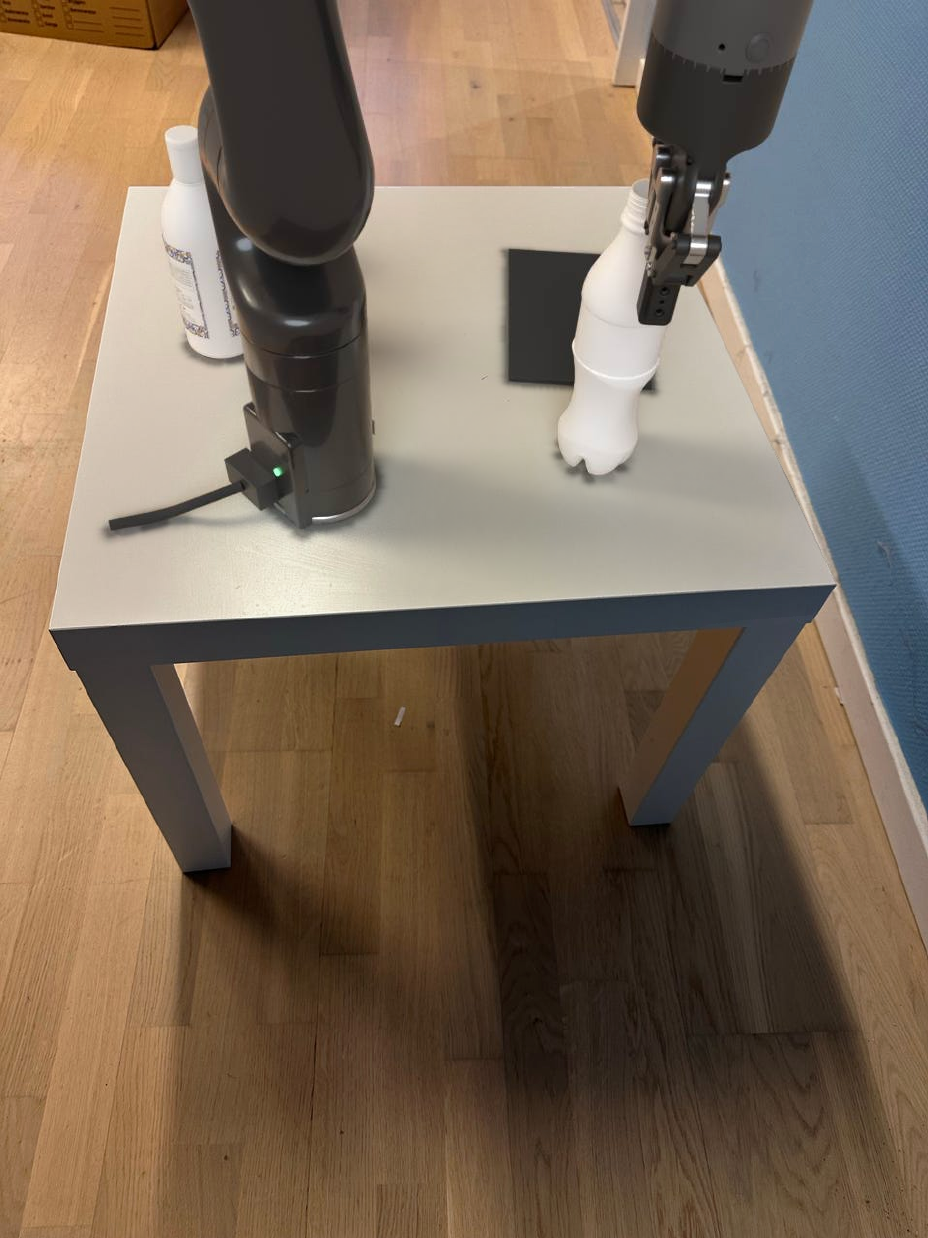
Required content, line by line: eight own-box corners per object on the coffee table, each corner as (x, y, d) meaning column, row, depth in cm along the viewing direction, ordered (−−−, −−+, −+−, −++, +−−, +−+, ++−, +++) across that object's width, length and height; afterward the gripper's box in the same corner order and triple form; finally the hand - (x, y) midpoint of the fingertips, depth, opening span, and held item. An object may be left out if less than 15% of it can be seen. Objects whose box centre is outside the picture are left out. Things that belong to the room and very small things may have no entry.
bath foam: (258, 314, 91) (225, 110, 75) (260, 358, 87) (226, 153, 71) (188, 318, 90) (140, 113, 74) (187, 363, 86) (136, 156, 70)
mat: (651, 389, 88) (651, 386, 87) (508, 381, 87) (509, 378, 87) (632, 259, 100) (633, 256, 100) (508, 251, 100) (508, 248, 100)
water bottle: (540, 464, 81) (584, 198, 60) (572, 417, 85) (623, 152, 64) (613, 493, 79) (684, 230, 59) (643, 444, 83) (718, 181, 63)
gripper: (641, -28, 49) (590, 257, 63) (666, 85, 42) (602, 381, 56) (776, -19, 49) (695, 264, 63) (826, 95, 42) (721, 388, 56)
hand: (652, 318), depth 60 cm, fingers closed
